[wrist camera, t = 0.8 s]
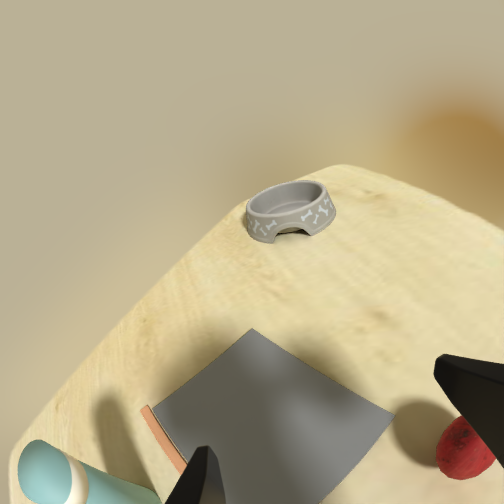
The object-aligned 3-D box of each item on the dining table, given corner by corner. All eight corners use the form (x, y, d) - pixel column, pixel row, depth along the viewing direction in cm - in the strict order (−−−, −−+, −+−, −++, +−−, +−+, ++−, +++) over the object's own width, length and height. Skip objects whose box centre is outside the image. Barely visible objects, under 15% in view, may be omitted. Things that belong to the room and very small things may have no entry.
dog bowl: (252, 210, 64) (245, 189, 61) (329, 193, 59) (325, 171, 56) (243, 251, 50) (233, 226, 47) (343, 231, 45) (339, 204, 42)
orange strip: (271, 551, 10) (270, 551, 10) (260, 558, 10) (259, 558, 10) (148, 406, 27) (146, 405, 26) (141, 411, 26) (139, 410, 26)
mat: (267, 542, 11) (265, 543, 11) (154, 410, 26) (152, 408, 26) (394, 416, 18) (395, 415, 18) (253, 330, 33) (252, 328, 33)
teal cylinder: (158, 537, 12) (47, 516, 5) (115, 519, 14) (11, 481, 7) (168, 493, 17) (65, 453, 10) (125, 479, 18) (29, 430, 11)
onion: (414, 476, 13) (443, 460, 8) (441, 420, 16) (472, 381, 11) (466, 489, 9) (511, 473, 5) (489, 432, 12) (532, 395, 8)
